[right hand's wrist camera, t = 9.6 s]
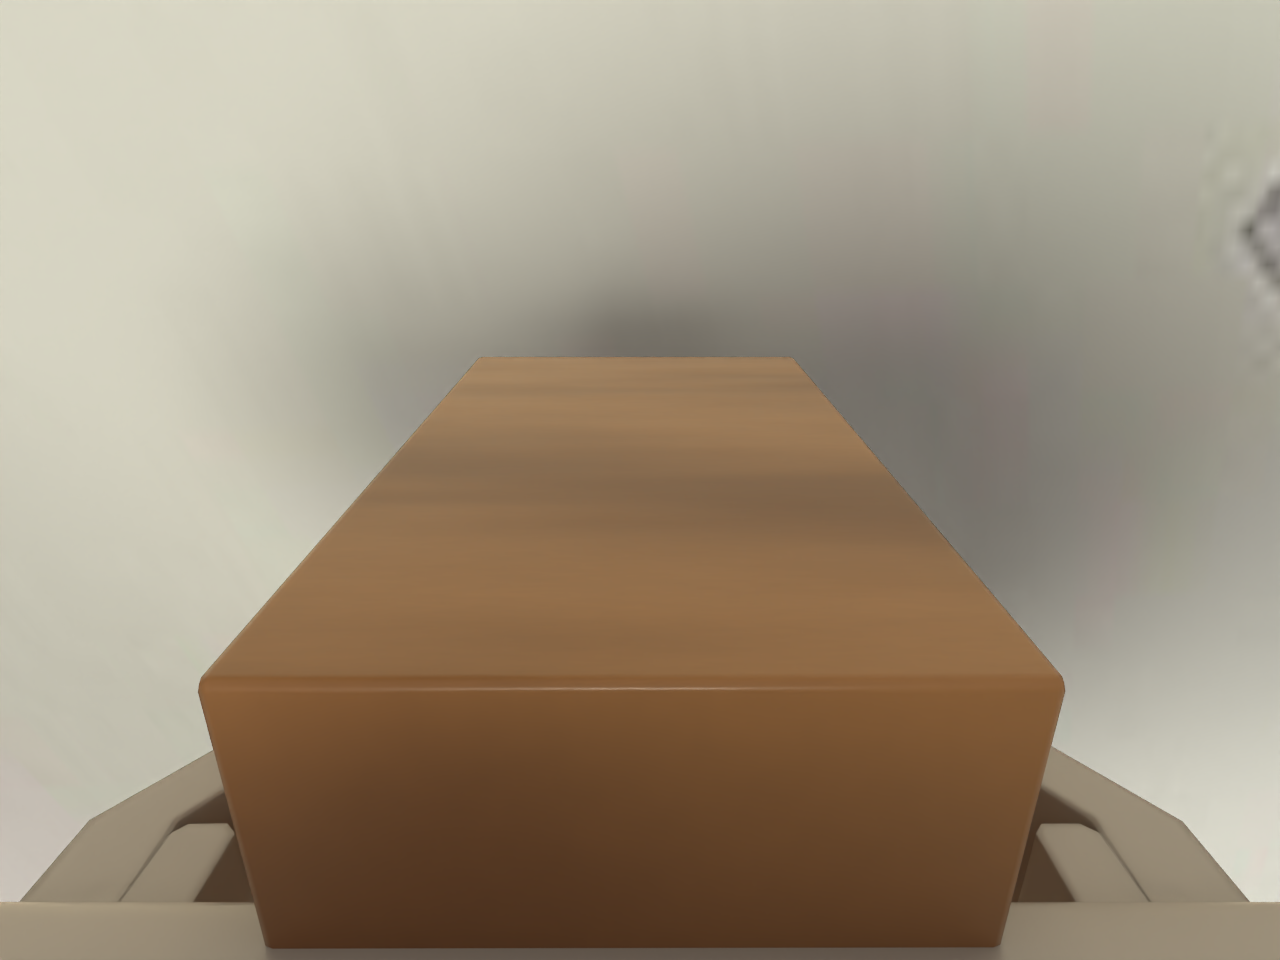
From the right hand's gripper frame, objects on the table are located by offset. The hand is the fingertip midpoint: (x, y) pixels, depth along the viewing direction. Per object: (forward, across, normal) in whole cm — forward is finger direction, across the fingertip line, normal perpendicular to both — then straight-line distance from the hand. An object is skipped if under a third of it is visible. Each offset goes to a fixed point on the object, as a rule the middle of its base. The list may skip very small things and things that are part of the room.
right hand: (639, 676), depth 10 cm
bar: (+3, 0, -10) cm, 10 cm away
